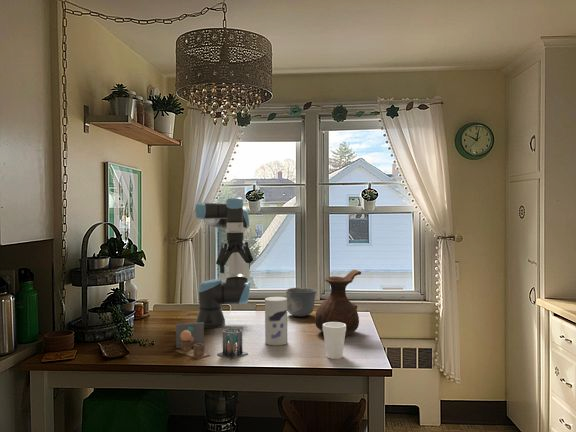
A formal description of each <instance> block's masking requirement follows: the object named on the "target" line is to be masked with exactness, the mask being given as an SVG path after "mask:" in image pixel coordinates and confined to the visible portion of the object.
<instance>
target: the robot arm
mask: <svg viewBox="0 0 576 432" xmlns="http://www.w3.org/2000/svg"><path fill="white" fill-rule="evenodd" d="M194 211H195V218H196V219H197V220H203V222H204V223H205V224H206V225H208V226H210V227H213V228H214V227H215V228H219V229H221V228H222V229H223V228H225V232H226V241H227V242H226V243H225V242H223V243H221V247H220V251H219V253H218V257H217V259H216V262H215V264H216V265H218V266H219V273H220V278H217V279H216V278H215V279H209V280H205V281H202V282H200V283H199V286H198V312H197V313H198V314H197V316H196V319H195V323H202V322H204V329H215V328H221V327H224V326H225V325H226V319H225V317H224V313H223V309H222V305H223V306H224V305H245V304H247V303H248V302H249V298H250V289H251V288H250V287H251V281H249V279H248V278H250V269H251V264H252V263H253V262H254V258H253V255H252V252H251V250H250V247H249V242H248V241H245V233H246V232H247V230H248V228H249V227H250V221H249V220H250V219H249V212H248V209H247V207H246V206H244V201H243V198H241V197H228V198H227V199H226V202H198V203H196V204H195V209H194ZM227 262H228V272H227V265H226V264H227ZM227 274H228V276H227ZM222 281H223V282H222Z"/></svg>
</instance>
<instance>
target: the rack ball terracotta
mask: <svg viewBox="0 0 576 432" xmlns="http://www.w3.org/2000/svg"><path fill="white" fill-rule="evenodd" d="M180 337H181V339H182V340H183V341H189V340H190V339H191V332H190V331H188V330H185V331H183V332H182V333H181V335H180Z"/></svg>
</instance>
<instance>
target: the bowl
mask: <svg viewBox="0 0 576 432" xmlns="http://www.w3.org/2000/svg"><path fill="white" fill-rule="evenodd" d="M285 293H286V298H287V313H288V314H290V315H291V316H294V317H300V318H302V317H307V316H309V315H311V314H312V313H313V312H314V309H315V299H316V295H317V294H316V293H317V289H316V288H311V287H291V288H287V289H286V290H285Z"/></svg>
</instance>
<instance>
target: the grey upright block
mask: <svg viewBox="0 0 576 432" xmlns="http://www.w3.org/2000/svg"><path fill="white" fill-rule="evenodd" d="M185 330H188V331H190V332H191V339H190V340H191V348H194V344H198V343H201V344H204V345H205V328H204V322H202V323H196V322H188V323H186V322H185V323H175V348H177V349H179V348H180V349H181V341H182V339H181V337H180V335H181V333H182V332H183V331H185Z"/></svg>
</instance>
